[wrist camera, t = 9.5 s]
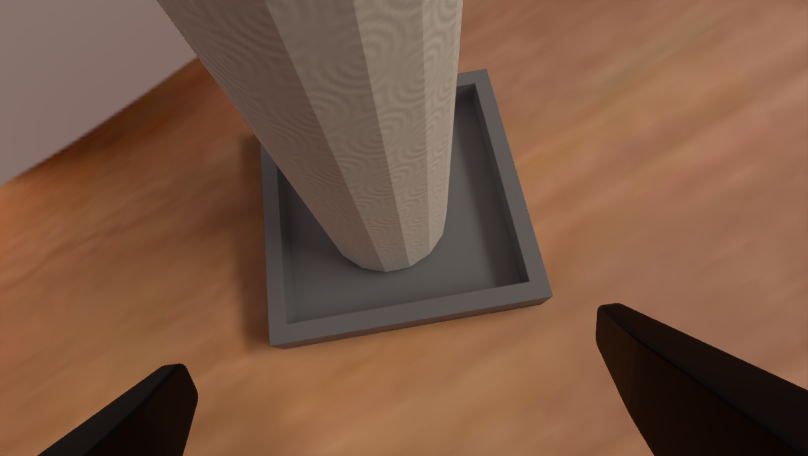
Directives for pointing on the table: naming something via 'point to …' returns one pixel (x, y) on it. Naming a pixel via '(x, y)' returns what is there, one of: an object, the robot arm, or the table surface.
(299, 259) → the tray
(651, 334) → the robot arm
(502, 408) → the table surface
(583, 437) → the table surface
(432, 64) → the paper towel roll
